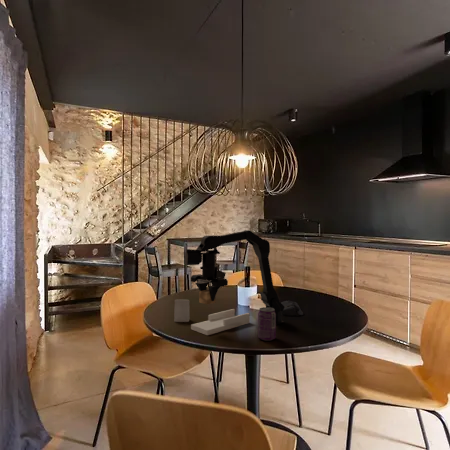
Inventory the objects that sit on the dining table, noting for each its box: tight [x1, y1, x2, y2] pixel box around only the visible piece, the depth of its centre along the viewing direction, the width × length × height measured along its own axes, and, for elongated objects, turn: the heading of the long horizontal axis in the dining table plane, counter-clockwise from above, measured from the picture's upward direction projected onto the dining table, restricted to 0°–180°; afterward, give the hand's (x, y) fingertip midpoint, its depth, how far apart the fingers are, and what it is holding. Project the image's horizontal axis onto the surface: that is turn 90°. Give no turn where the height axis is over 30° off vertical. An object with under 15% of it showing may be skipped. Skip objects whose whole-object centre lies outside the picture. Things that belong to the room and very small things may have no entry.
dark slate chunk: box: [280, 300, 304, 317], centre depth 183 cm, size 15×22×5 cm
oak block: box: [198, 289, 216, 305], centre depth 149 cm, size 5×5×5 cm
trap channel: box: [190, 308, 251, 336], centre depth 155 cm, size 11×26×4 cm, turn 133°
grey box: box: [173, 299, 190, 323], centre depth 163 cm, size 4×7×10 cm, turn 90°
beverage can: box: [257, 306, 277, 342], centre depth 138 cm, size 7×7×12 cm
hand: (208, 300), depth 150 cm, fingers closed on oak block, 5 cm apart
